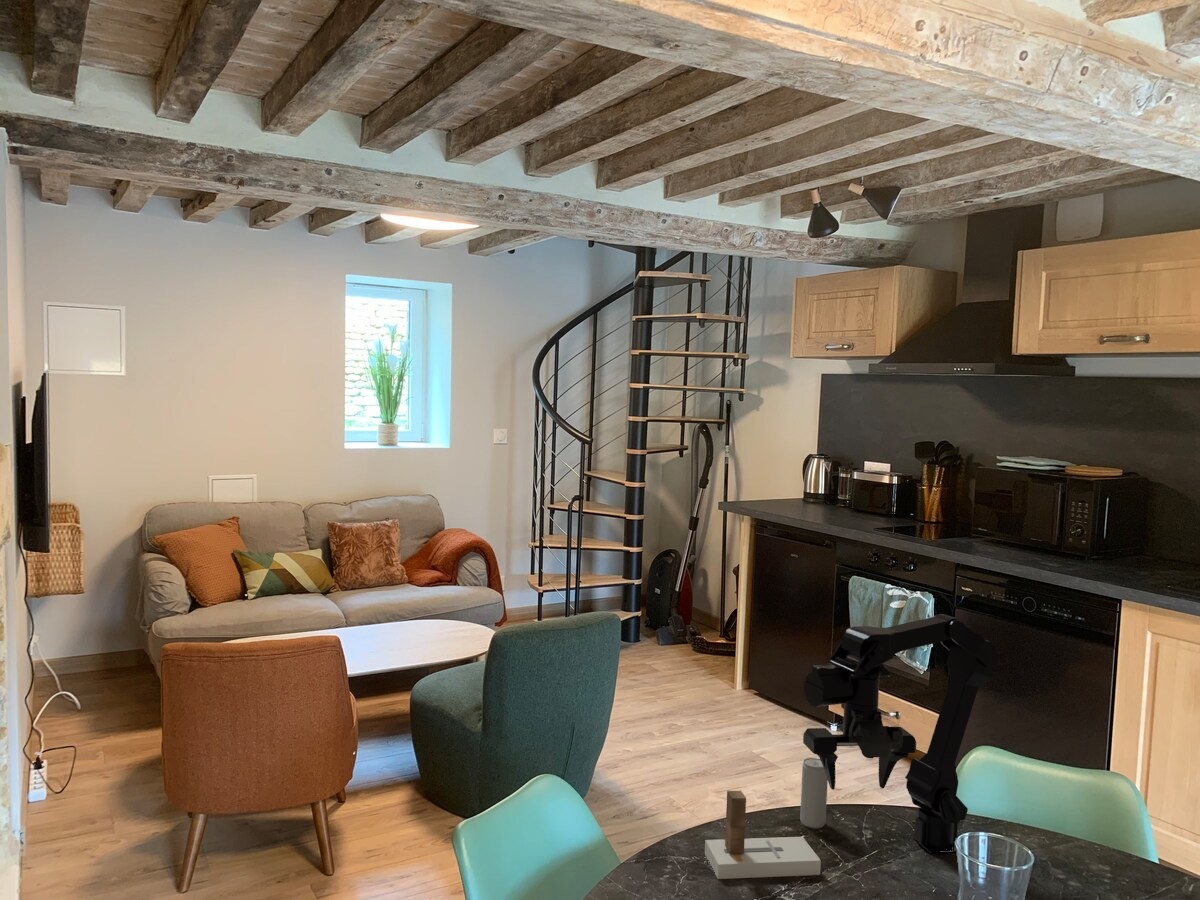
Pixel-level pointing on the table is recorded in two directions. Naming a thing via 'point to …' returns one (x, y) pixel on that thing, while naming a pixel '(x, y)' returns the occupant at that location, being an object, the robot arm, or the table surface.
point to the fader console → (763, 858)
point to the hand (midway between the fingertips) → (857, 788)
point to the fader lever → (735, 822)
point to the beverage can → (813, 793)
